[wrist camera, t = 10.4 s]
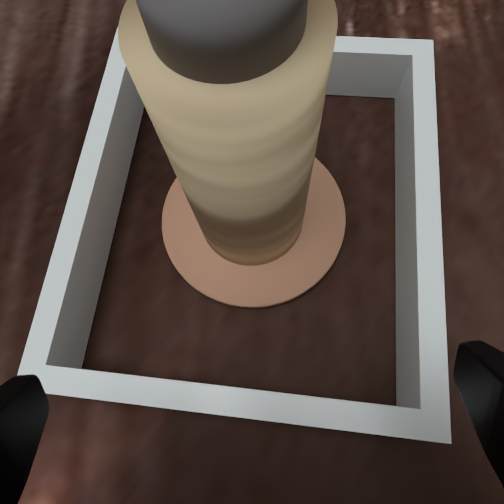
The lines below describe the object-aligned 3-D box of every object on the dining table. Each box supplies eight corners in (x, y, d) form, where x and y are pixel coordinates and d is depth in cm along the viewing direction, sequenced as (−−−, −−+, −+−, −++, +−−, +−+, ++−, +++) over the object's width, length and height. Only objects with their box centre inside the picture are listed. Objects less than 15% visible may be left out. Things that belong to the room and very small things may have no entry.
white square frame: (421, 434, 16) (451, 444, 14) (54, 389, 18) (13, 389, 15) (412, 84, 22) (433, 39, 19) (136, 70, 24) (117, 27, 21)
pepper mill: (299, 270, 18) (350, 35, 6) (193, 260, 19) (44, 23, 7) (306, 175, 20) (358, -163, 8) (208, 168, 20) (111, -163, 8)
